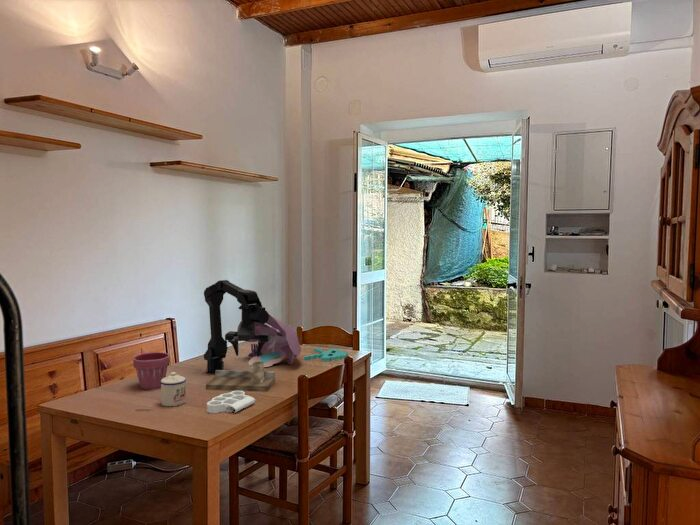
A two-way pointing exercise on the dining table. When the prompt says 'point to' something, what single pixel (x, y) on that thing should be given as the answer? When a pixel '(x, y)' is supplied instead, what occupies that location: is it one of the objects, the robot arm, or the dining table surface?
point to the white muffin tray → (229, 402)
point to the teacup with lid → (173, 390)
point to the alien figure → (327, 354)
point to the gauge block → (257, 371)
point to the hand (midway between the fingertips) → (247, 356)
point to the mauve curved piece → (275, 343)
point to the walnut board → (240, 381)
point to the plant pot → (151, 368)
